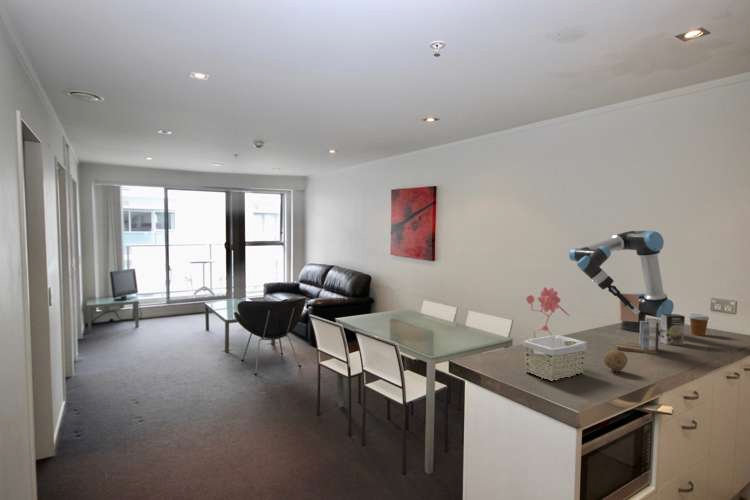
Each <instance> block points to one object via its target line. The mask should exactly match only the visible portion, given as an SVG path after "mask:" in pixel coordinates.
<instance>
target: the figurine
mask: <svg viewBox="0 0 750 500" xmlns="http://www.w3.org/2000/svg"><path fill="white" fill-rule="evenodd" d="M537 300H538V302H540V307H541V309H533V303H534V301H535V297H534V296H533V295H532V294H530V295H528V296H526V302H527V304H528V305H529V304H530V309H531V312H540V313H543V314H544V315H545V316H546V317H547V318H546V322H545V325H543V326H542V328H540V329H537V330H534V332H533V336H534V338H536V334H535V333H536V332H539V331H544V332H546V331H548V332H549V334H550V336H553V334H552V332H551V331H550V330H549V327H548V326H547V324H548V321H549V319H550V317H551V315H552V314H553V313H555V311H556V309H560V310H561V311H562V312H563V313H564V314H565V315H567V317H570V314H568V312H567V311H566V310H564V309H563V307H561V306H560V305H559V303H560V302H561V298H560V297H558V291H557V290H554V288H553V287H550V288H549V289H548V288H547V287H546V286H544V287H543V289H542V290H541V291H540V296H538V297H537ZM543 310H544V311H543ZM549 311H551V312H550V313H549V314H548V313H547V312H549Z"/></svg>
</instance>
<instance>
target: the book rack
mask: <svg viewBox="0 0 750 500" xmlns="http://www.w3.org/2000/svg"><path fill="white" fill-rule="evenodd" d="M659 325H660V323H659V322H657V321H656V320H655V319H654V317H647V316H646V317H645V321H640V332H639V336H638V337H639V338H638V340H639V341H638V343H632V342H622V341H613V345H614V347H615V348H616V349H615V350H619V351H621V352H623V351H624V352H632V351H633V352H634V353H635V352H636V353H642V352H643V354H652V355H653V354H654V355H659V332H660V331H659V330H660V329H659V328H660V327H659ZM633 352H632V353H633Z"/></svg>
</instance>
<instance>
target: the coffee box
mask: <svg viewBox="0 0 750 500" xmlns="http://www.w3.org/2000/svg"><path fill="white" fill-rule="evenodd" d="M685 319H686V318H685V316H684V315H681V314H675V313H671V314H661V318H660V329H659V330H660V331H659V332H660V334H659V342H660V343H662V344H664V345H671V346H672V345H673V346H674V345H675V346H678V345H679V346H684V341H685V323H686V322H685Z"/></svg>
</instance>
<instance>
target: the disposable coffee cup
mask: <svg viewBox="0 0 750 500" xmlns="http://www.w3.org/2000/svg"><path fill="white" fill-rule="evenodd" d="M688 317H689V321H690V330H691V335H693V336H696V337H706V332H707V327H708V322H709V319H710V318H709V316H708V315H707V314H700V313H690V314H689V316H688Z"/></svg>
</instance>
